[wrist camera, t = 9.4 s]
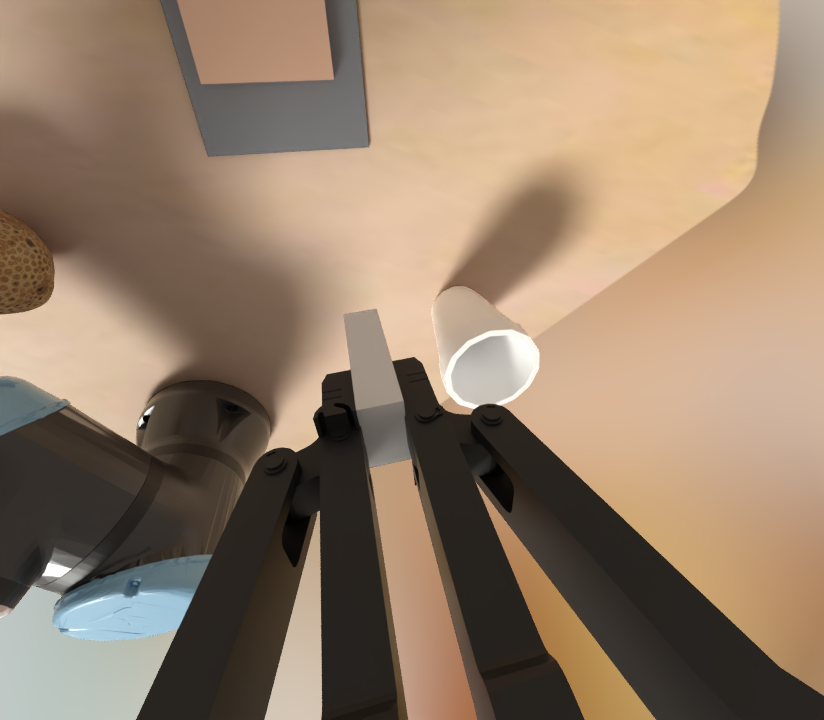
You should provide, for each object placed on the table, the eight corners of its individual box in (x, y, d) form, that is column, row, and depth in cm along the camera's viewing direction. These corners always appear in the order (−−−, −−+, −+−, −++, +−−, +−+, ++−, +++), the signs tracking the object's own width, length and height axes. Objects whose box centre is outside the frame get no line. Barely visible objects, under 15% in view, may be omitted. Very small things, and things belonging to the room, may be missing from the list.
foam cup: (507, 291, 46) (559, 349, 36) (467, 350, 50) (503, 417, 40) (442, 261, 43) (478, 315, 32) (405, 327, 47) (426, 395, 36)
